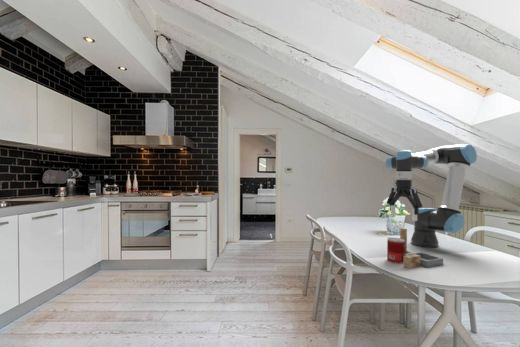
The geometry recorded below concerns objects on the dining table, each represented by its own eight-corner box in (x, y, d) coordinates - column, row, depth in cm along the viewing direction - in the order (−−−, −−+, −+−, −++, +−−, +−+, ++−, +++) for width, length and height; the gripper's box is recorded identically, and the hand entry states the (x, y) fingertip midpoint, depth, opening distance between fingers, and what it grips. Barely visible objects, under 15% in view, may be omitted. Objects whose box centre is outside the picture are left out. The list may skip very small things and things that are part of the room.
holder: (402, 253, 157) (402, 249, 157) (415, 257, 150) (415, 253, 150) (391, 255, 154) (391, 250, 154) (404, 259, 147) (404, 254, 147)
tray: (420, 257, 150) (420, 252, 150) (443, 264, 139) (443, 258, 139) (404, 260, 145) (404, 254, 145) (426, 267, 134) (426, 261, 134)
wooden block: (414, 264, 139) (415, 254, 139) (420, 266, 136) (420, 255, 136) (403, 266, 136) (403, 255, 136) (408, 268, 133) (409, 257, 133)
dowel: (402, 255, 154) (403, 228, 154) (408, 257, 151) (408, 229, 151) (398, 256, 153) (399, 228, 153) (403, 257, 150) (404, 229, 150)
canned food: (406, 263, 140) (406, 241, 140) (389, 262, 142) (389, 240, 142) (402, 259, 148) (402, 238, 148) (385, 258, 149) (385, 237, 149)
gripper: (380, 178, 162) (379, 215, 162) (420, 180, 139) (419, 223, 139) (389, 178, 165) (389, 215, 165) (430, 180, 142) (430, 222, 142)
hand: (403, 218), depth 152 cm, fingers open, 13 cm apart
